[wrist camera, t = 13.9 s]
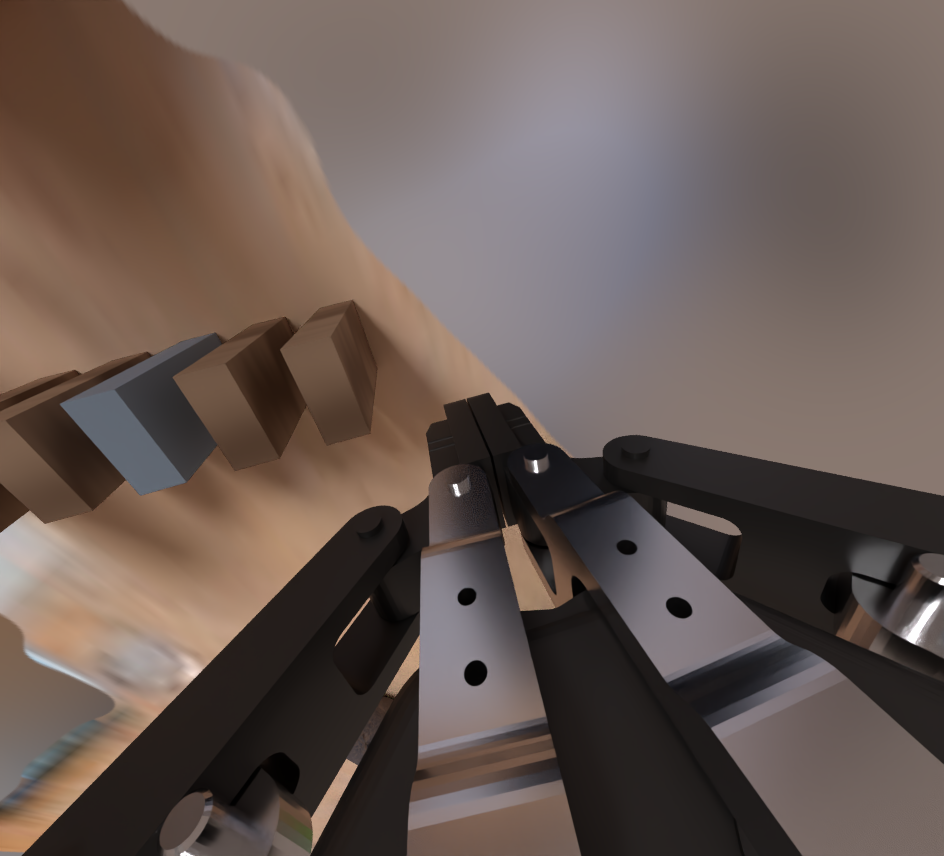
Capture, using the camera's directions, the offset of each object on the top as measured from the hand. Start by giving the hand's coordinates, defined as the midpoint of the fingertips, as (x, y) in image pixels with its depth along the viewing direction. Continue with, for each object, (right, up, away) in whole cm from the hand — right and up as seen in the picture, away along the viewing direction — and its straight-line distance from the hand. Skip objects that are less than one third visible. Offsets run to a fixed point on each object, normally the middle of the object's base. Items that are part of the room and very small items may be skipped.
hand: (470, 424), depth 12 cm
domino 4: (-21, +2, +13) cm, 25 cm away
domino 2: (-13, +5, +13) cm, 19 cm away
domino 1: (-8, +6, +14) cm, 17 cm away
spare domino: (-17, +4, +13) cm, 22 cm away
